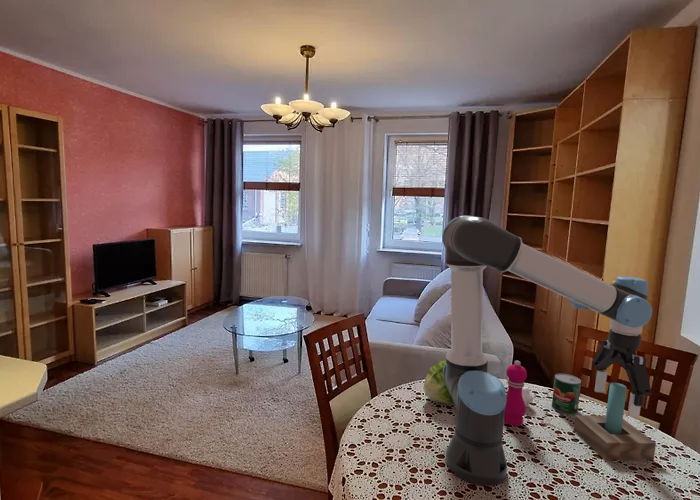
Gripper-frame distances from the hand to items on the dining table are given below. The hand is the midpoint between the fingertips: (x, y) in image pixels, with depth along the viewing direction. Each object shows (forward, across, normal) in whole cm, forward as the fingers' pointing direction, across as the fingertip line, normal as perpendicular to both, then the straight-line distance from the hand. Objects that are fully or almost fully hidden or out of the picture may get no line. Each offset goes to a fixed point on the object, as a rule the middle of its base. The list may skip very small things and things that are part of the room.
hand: (615, 403), depth 113 cm
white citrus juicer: (+13, +22, +16) cm, 30 cm away
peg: (+13, 0, 0) cm, 13 cm away
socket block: (+13, 0, 0) cm, 13 cm away
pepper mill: (+13, +12, +24) cm, 30 cm away
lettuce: (+14, +24, +40) cm, 48 cm away
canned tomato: (+13, +20, +2) cm, 24 cm away
